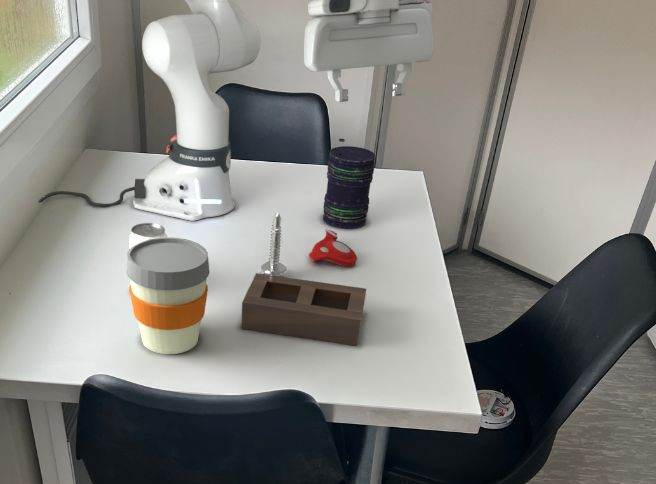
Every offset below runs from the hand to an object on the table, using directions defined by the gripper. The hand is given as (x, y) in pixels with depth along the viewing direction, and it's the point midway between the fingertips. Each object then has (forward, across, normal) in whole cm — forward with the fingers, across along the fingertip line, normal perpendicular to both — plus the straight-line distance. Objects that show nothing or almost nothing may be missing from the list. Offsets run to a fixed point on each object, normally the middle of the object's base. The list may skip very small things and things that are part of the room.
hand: (370, 98), depth 114 cm
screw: (+31, +14, -15) cm, 37 cm away
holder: (+34, +13, 0) cm, 37 cm away
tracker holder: (+31, -1, -22) cm, 38 cm away
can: (+30, +37, -14) cm, 49 cm away
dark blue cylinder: (+28, -10, -39) cm, 49 cm away
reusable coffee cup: (+33, +36, +2) cm, 49 cm away
